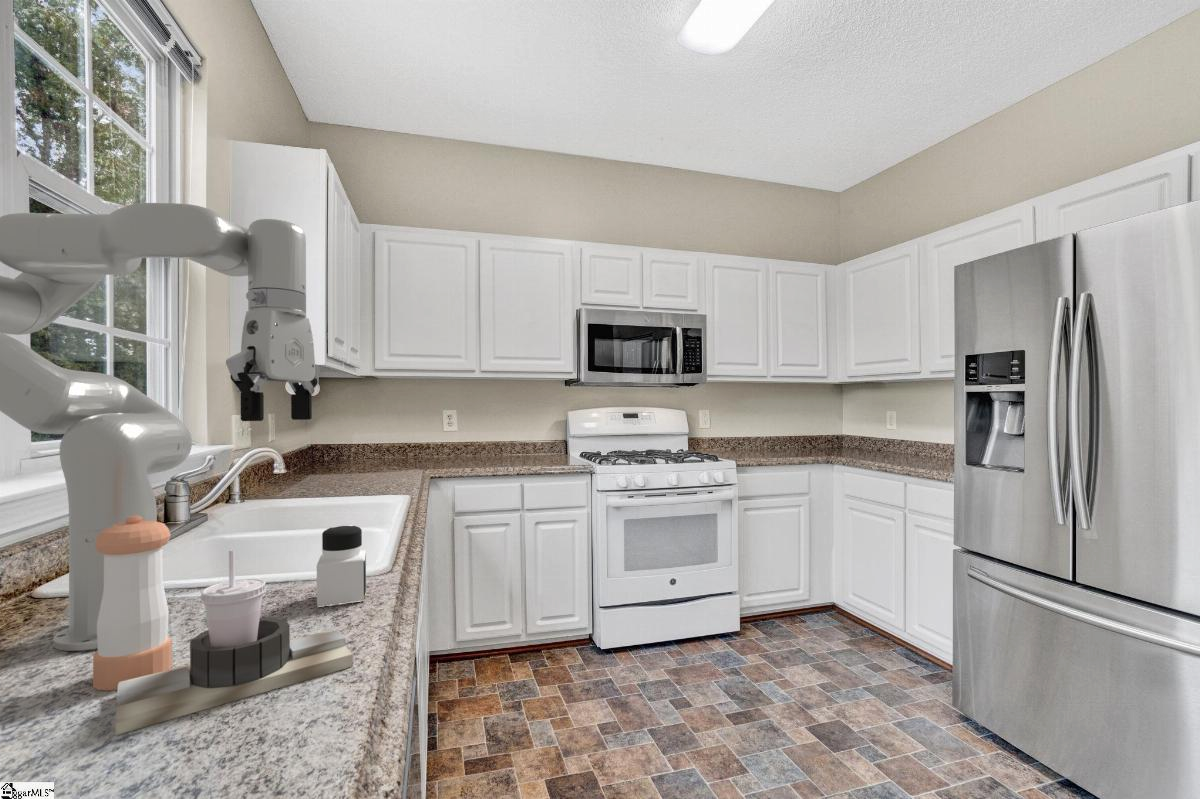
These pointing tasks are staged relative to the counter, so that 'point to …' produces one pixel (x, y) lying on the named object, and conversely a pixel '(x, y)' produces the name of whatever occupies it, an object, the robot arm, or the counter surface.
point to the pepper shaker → (132, 604)
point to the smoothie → (233, 609)
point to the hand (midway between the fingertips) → (278, 420)
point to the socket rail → (226, 694)
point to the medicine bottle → (341, 566)
